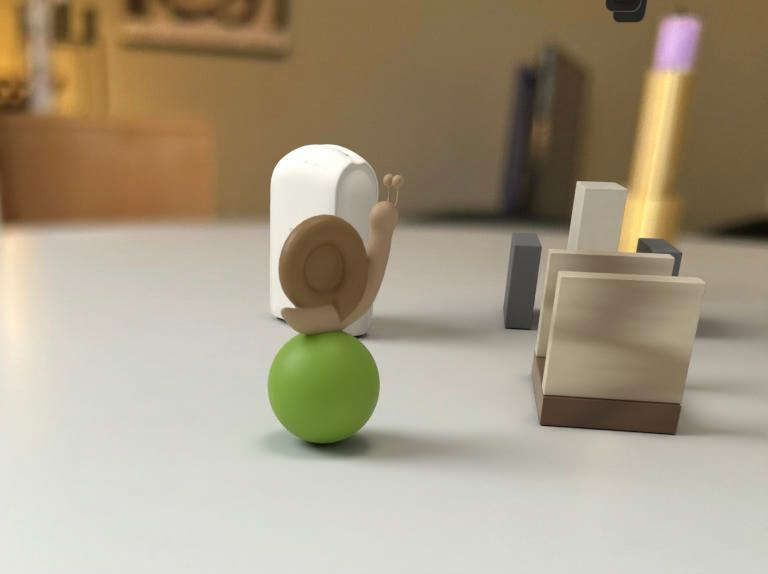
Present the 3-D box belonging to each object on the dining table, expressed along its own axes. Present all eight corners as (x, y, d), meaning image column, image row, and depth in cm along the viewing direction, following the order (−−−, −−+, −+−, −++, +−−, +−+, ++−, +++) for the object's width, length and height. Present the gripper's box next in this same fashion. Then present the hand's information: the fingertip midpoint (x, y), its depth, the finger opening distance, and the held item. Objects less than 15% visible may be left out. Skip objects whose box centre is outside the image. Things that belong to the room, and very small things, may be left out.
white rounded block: (261, 316, 79) (263, 141, 73) (308, 312, 80) (313, 141, 75) (329, 341, 71) (337, 147, 65) (379, 336, 73) (391, 147, 67)
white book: (594, 314, 83) (615, 182, 78) (603, 332, 76) (628, 189, 71) (557, 312, 83) (576, 181, 79) (563, 330, 76) (585, 187, 72)
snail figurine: (414, 445, 49) (436, 178, 44) (305, 464, 46) (314, 179, 40) (350, 418, 53) (364, 170, 48) (246, 434, 50) (247, 171, 44)
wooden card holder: (645, 380, 62) (669, 253, 59) (676, 434, 52) (708, 283, 48) (531, 373, 63) (548, 248, 60) (539, 424, 53) (560, 276, 49)
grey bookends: (649, 316, 83) (664, 238, 80) (666, 337, 75) (683, 252, 72) (503, 308, 84) (512, 232, 82) (504, 327, 77) (514, 244, 74)
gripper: (744, -344, 54) (682, 7, 62) (733, -261, 66) (682, 25, 74) (602, -330, 56) (559, 8, 64) (616, -252, 68) (578, 25, 76)
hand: (625, 17), depth 69 cm, fingers open, 8 cm apart
